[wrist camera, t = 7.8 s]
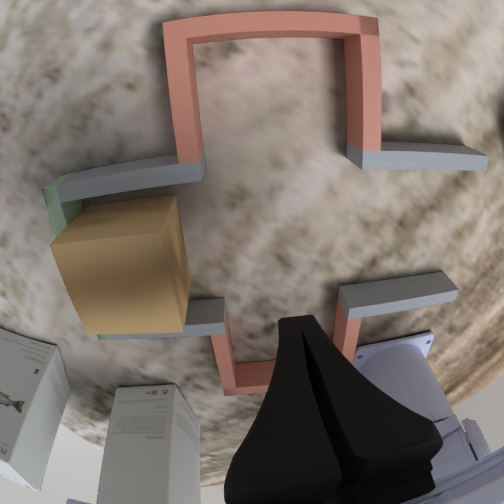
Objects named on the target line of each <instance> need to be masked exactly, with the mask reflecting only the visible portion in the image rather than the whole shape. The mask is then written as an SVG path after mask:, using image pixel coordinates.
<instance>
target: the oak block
mask: <svg viewBox="0 0 504 504" xmlns="http://www.w3.org/2000/svg"><path fill="white" fill-rule="evenodd" d="M50 247H51V249H52V252H53V255H54V258H55V260H56V263H57V266H58V268H59V271H60V273H61V276H62V279H63V281H64V283H65V286H66V288H67V291H68V293H69V295H70V298H71V300H72V302H73V305H74V307H75V309H76V311H77V314H78V316H79V318H80V320H81V322H82V324H83V326H84V328H85V331H86V333H87V334H147V333H174V332H184V327H185V320H186V313H187V306H188V299H189V293H190V286H191V276H190V271H189V266H188V261H187V255H186V250H185V244H184V239H183V233H182V227H181V221H180V215H179V209H178V203H177V197H176V195H168V196H159V197H151V198H143V199H135V200H128V201H120V202H113V203H106V204H99V205H93V206H86V207H84V208H83V209H82V210H81V211H80V212H79V213H78V214H77V216H76V217H75V218H74V219H73V220H72V221H71V222H70V223H69V224H68V225H67V226H66V227H65V228H64V229H63V231H62V232H61V233H60V234H59V235H58V236H57V237H56V238H55V240H54V241H53V242H52V243H51V244H50Z"/></svg>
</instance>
